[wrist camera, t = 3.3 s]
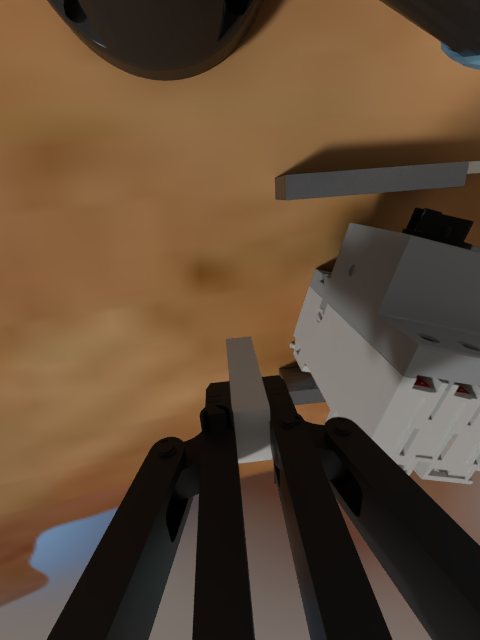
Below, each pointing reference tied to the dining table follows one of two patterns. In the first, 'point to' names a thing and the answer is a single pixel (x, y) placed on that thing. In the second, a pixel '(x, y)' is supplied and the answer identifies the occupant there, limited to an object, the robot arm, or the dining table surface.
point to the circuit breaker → (402, 342)
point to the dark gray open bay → (354, 184)
